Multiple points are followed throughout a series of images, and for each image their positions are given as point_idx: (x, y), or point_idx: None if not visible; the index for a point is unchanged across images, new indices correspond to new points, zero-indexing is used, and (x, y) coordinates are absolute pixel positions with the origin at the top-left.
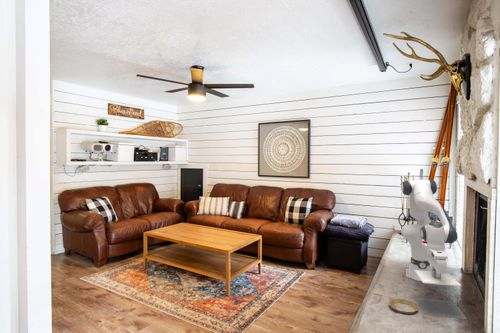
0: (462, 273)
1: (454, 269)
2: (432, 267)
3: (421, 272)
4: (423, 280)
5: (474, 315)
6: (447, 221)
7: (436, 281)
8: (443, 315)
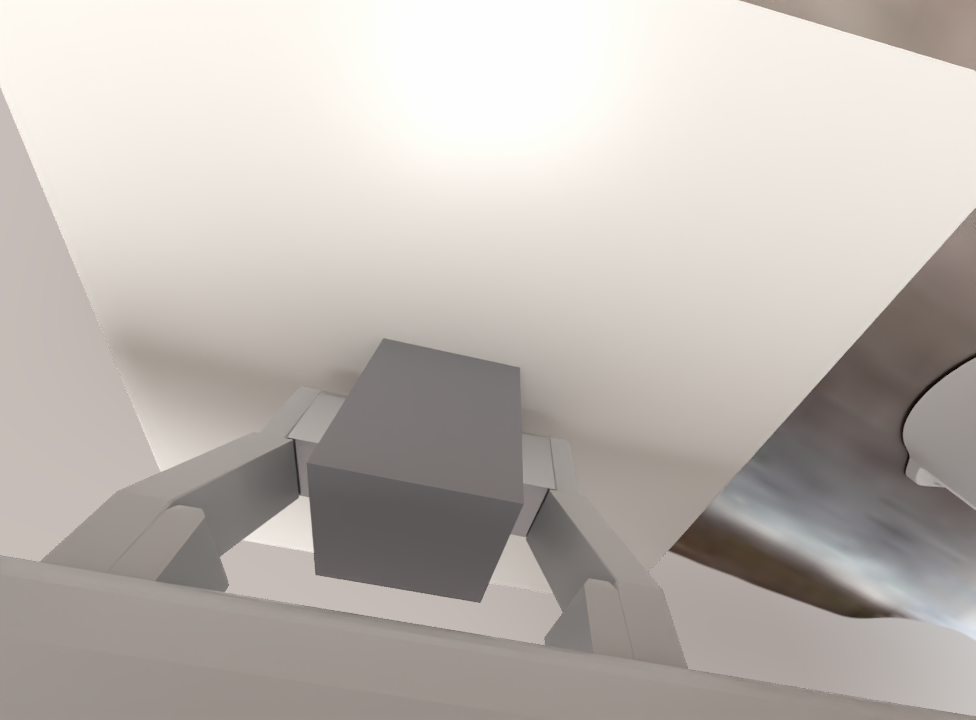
0: (875, 607)
1: (943, 608)
2: (602, 568)
3: (773, 237)
4: None
5: None
6: None
7: (186, 293)
8: None
